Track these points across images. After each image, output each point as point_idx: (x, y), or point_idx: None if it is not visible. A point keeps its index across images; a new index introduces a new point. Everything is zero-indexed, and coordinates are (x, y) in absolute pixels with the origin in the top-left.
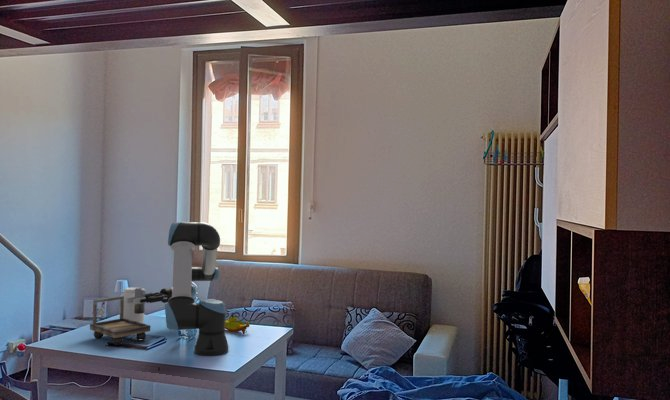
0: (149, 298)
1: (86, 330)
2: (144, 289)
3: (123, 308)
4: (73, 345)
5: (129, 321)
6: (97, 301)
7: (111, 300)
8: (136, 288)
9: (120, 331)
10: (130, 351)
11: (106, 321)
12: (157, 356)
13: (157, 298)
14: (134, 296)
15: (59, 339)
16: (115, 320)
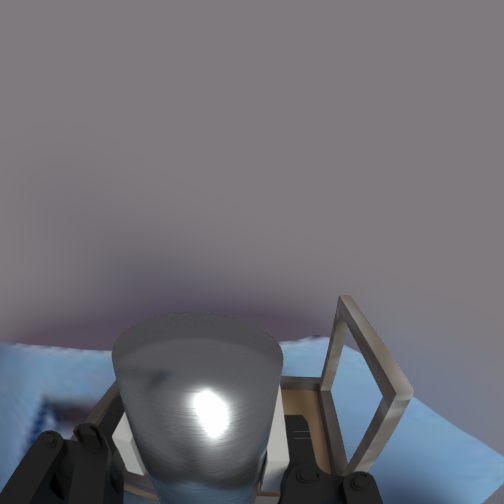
0: (82, 467)
1: (431, 435)
2: (113, 357)
3: (361, 458)
4: None
5: (264, 498)
6: (340, 307)
7: (360, 350)
8: (280, 347)
9: None
10: (81, 383)
11: (328, 422)
12: (8, 365)
13: (11, 501)
14: (276, 418)
15: (355, 373)
16: (332, 457)
